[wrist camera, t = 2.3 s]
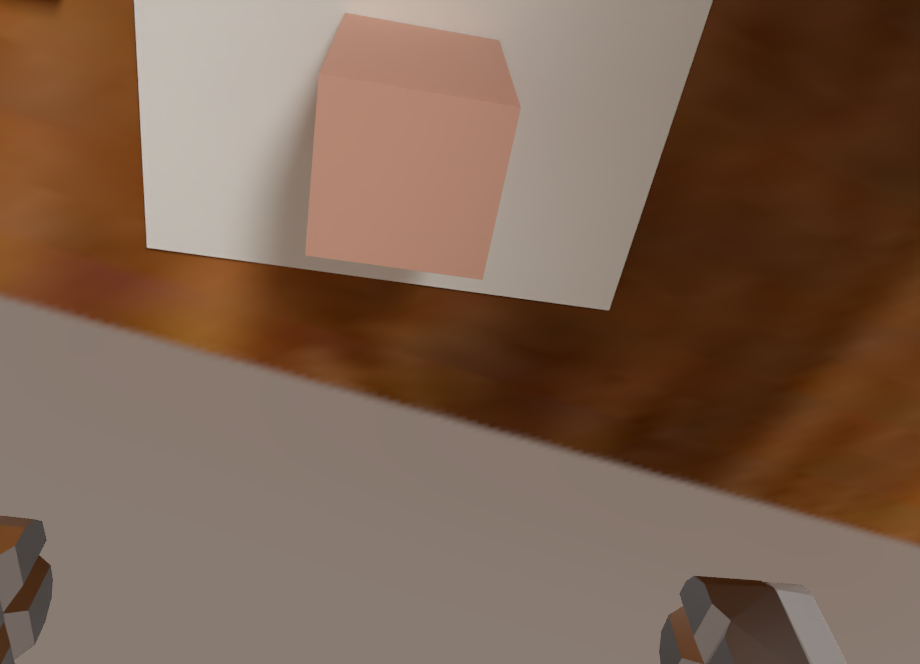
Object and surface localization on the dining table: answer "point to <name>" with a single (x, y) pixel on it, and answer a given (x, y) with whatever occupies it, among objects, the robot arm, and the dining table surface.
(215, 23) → the mat
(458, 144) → the terracotta block
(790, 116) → the dining table surface
